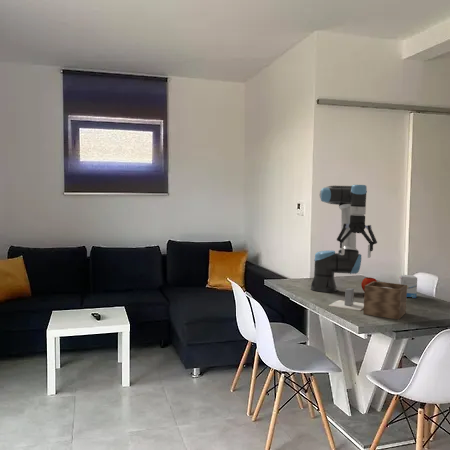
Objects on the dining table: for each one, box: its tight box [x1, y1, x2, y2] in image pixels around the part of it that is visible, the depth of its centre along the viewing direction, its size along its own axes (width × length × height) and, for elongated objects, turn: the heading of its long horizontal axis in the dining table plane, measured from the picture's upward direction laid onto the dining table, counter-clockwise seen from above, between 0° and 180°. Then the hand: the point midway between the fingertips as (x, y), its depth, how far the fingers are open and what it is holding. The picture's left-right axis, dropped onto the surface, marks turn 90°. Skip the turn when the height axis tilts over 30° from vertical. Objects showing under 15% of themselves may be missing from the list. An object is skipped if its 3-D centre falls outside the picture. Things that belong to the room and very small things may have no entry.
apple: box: [360, 277, 378, 293], centre depth 264 cm, size 9×8×11 cm
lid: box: [328, 287, 364, 312], centre depth 238 cm, size 16×16×9 cm
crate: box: [363, 280, 407, 320], centre depth 223 cm, size 16×16×14 cm
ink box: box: [398, 274, 418, 299], centre depth 267 cm, size 8×8×12 cm
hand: (355, 256), depth 242 cm, fingers open, 13 cm apart
